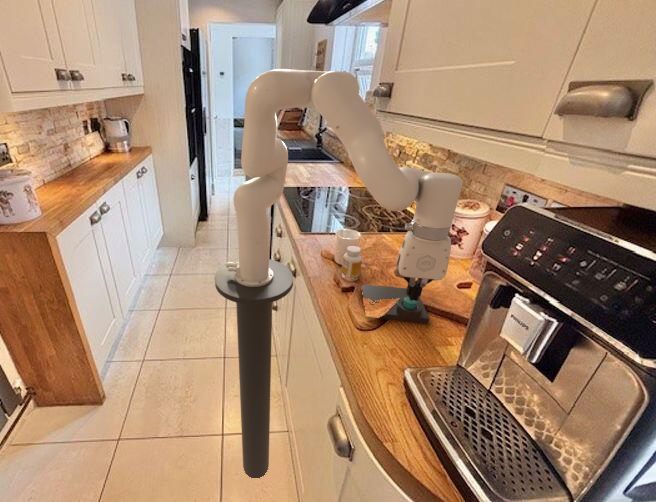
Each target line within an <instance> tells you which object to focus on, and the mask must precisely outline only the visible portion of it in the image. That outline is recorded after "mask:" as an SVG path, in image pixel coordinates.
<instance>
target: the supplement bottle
mask: <svg viewBox="0 0 656 502" xmlns="http://www.w3.org/2000/svg"><path fill="white" fill-rule="evenodd" d="M346 252H347V253H345V254H344V256H343V263H342V265H341V271H342V273H343V274H344V275H345V276H347V277H350V278H354V279H350V278H346V277H345V278H346V279H347V280H346V281H349V282H353V281H357V280H358V279H359V278H360V273H361V266H362V260H363V258H362V257H363V256H362V255H361V253H362V249H361V248H360V246H359V247H356V246H349V247H347V251H346ZM358 276H359V277H358ZM357 277H358V278H357Z"/></svg>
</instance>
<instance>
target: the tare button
mask: <svg viewBox="0 0 656 502" xmlns="http://www.w3.org/2000/svg"><path fill="white" fill-rule="evenodd" d="M416 305H417V301H415V300H413V301H412V300H410V299H409V297H406V298H404V302H403V306H404V307H405V308H408V309H415V308H416Z"/></svg>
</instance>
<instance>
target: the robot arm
mask: <svg viewBox="0 0 656 502" xmlns="http://www.w3.org/2000/svg"><path fill="white" fill-rule="evenodd" d="M295 108H296V109H297V108H303V109H315V110H316V111H318V113H320V114H319V115H321V117H322V118H323V120H324V121H325V123H326V124H328V126H329V128H331V130H332V131H333V132H334V134H335V135H336V136H337V138H338V140H339V141H340V142H341V143H342V145H343V146H344V148H345V150H346V151H347V154H348V158H349V159H350V161H351V163H352V166H353V168H354V171H355V172H356V175H357V176H358V178H359V180H360V181H361V183H362V185H363V186H364V187H365V189H366V190H367V191H368V193H370V195H371V197H373V198H374V200H375V201H376V203H378V204H379V206H381V207H382V208H384V209H385V210H387V211H390V212H403V211H404V210H406V209H408V208H409V207H410V206H412V204H413V203H415V202H416V205H415V210H414V214H413V218H412V219H411V221H410V223H405V224H404V230H408V231H407V232H406V234H405V236H404V238H403V241H402V242H401V245H400V249H399V252H398V255H397V258H396V268H395V269H394V271H393V274H394V276H395V277H397V278H400V279H403V280H405V282H406V283H407V286H406V288H407V290H406V294H407V295H408V296H409V299H410V300H412V301H413V300H415V301H418V297H419V296H420V297H421V296H422V292H423V288H426V286H427V285H428V284H429V283H431V282H433V281H434V282H435V281H441V280H443V279H444V278H445V277H446V275H447V272H448V268H449V262H450V258H451V250H452V238H451V237H450V236H449V234H450V230H451V226H452V224H453V220H454V216H455V212H456V209H457V206H458V203H459V199H460V195H461V192H462V189H463V183H464V182H463V179H462V178H461V176H459V175H456V174H453V173H449V172H430V171H425V170H421V169H418V168H413V167H409V166H400V167H399V166H398V164H397V163H396V161H395V160H394V158H393V157H392V155H391V154H390V152H389V150H388V149H387V146H386V144H385V140H384V134H383V127H382V123H381V122H380V120H379V118H377V117H378V116H376V115H375V114H374V112H373V111H372V109H371V108H370V107H369V105H368V104H367V103H366V101H365V100H364V99H363V97H362V96H361V95H360V83H359V82H358V80H357V77H355V76H354V75H353V73H350V72H348V71H345V70H330V71H329V70H328V71H320V70H305V69H304V70H302V69H291V68H290V69H288V68H276V69H270V70H267V71H264V72H263V73H261V74H259V75H258V76H256V77H255V78H254V79H253V80H252V82H251V83H250V84H249V86H248V88H247V90H246V94H245V99H244V124H243V130H242V131H243V132H242V143H241V155H240V156H241V157H240V164H241V165H240V166H241V169H242V171H243V173H244V174H245V175H246V176H247V177H250V178H251V179H249V180H246V181H244V182H242V183H241V184H240V185H239V186H238V187H237V188H236V190H235V191H234V193H233V198H232V199H233V200H232V201H233V207H234V210H235V211H234V212H235V216H236V224H237V245H238V250H237V251H238V259H239V262H236V263H233V262H232V261H227V262H226V263H225V264H226V267H227V268H228V271H235V280H236V281H237V282H238V283H239V284H241V285H244V286H248V287H260V286H264V285H266V284H268V283H270V282H271V281H272V280H273V271H272V270H271V269H270V268H269V259H270V222H269V221H270V220H269V218H268V216H267V209H269V207H271V206H273V205H274V204H276V203H278V202H279V200H281V198H282V196H283V193H284V189H285V184H286V176H287V169H288V162H289V152H288V148H287V146H286V144H285V143H284V141H283V140H282V139H280V138H278V137H277V131H278V118H277V114H276V113H277V112H278V111H282V110H291V109H295Z"/></svg>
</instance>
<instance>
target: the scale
mask: <svg viewBox="0 0 656 502" xmlns="http://www.w3.org/2000/svg"><path fill="white" fill-rule="evenodd" d="M361 287H362V290H361ZM406 290H407V287H396V286H385V285H384V286H383V285H375V284H373V285H372V284H360V295H361V299H362V298H363V297H364V298H365V299H366V298H367V299H368V298H369V299H371V300H372V301H373V302H375V300H380V299H381V300H382V299H392V298H393V299H396V298H400V299H398V301H397V303H396V305H395V306H394V307H393V308H392V309H391V310H390V311H389V312H388V313H386V314H385V315H386V316H382V317H380V318H379V319H378V320H385V321H386V320H387V321H395V322H396V321H397V322H406V323H414V324H424V325H429V322H430V316H429V314H428V312H427V310H426V307H425V305H424V303H423V301H422V299H421V296H419V297H418V301H417V305H416V308H415V309H408V308H405V307H404V306H403V302H404V298H406V297H409V296H408V295H407V294H406ZM362 292H363V295H362ZM373 302H372V303H373ZM369 303H370V302H369ZM375 303H379V302H377V301H376V302H375ZM370 304H371V303H370ZM371 305H374V304H371ZM364 307H365V306H363V308H364ZM363 311H364V312H365V310H364V309H363Z"/></svg>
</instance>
